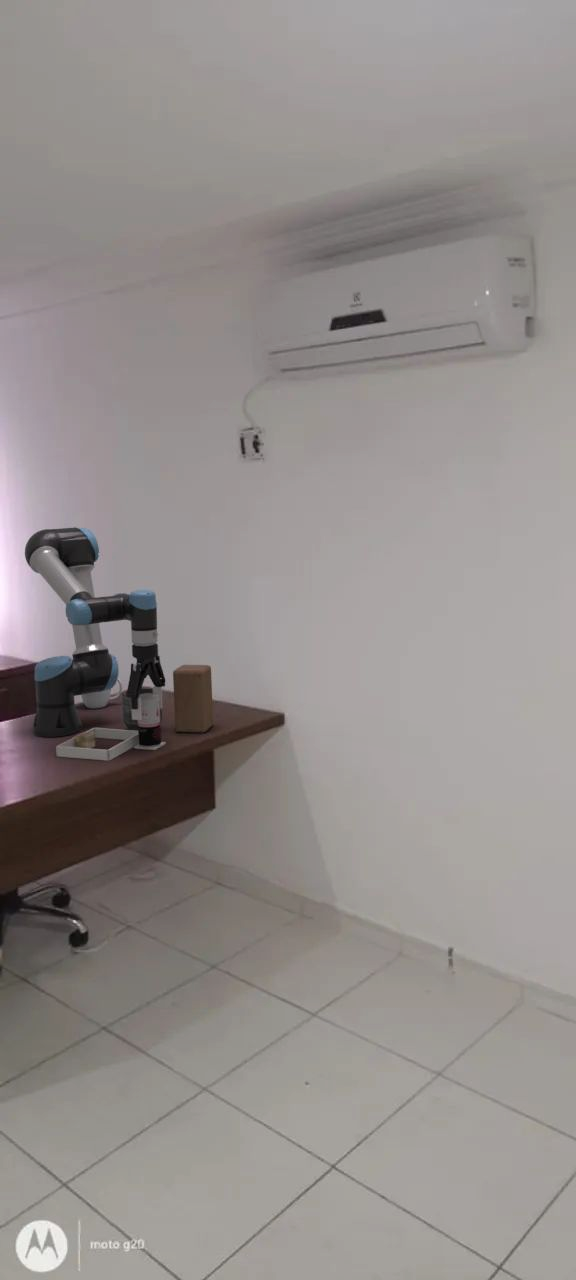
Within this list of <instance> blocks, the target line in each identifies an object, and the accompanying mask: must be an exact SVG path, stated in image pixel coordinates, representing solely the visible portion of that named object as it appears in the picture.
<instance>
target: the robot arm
mask: <svg viewBox="0 0 576 1280" xmlns="http://www.w3.org/2000/svg"><path fill="white" fill-rule="evenodd" d="M99 546H100V545H99V542H98V540H97V538H96V536H95V534H94V533H93V531H91V530H90V529H89V528H86V527H64V528H47V529H41V530H38V531H36V532H35V533H33V534H32V535H31V536H30V537H29V539H28V541H27V542H26V544H25V546H24V547H25V548H24V558H25V560H26V563H27V564H28V566H29V568H30V569H31V570H32V571H33V572H34V573H37V574H40V576H41V577H42V578H43V579H44V580H45V582H46V583H47V584H48V585H49V586H50V587H51V589H52V590H53V591H54V592H55V594H56V595H57V596H58V597H59V598H60V600H61V601H62V602H63V603H64V604H65V616H66V618H67V621H68V622H69V624H71V626H72V632H73V633H72V634H73V637H74V638H73V639H74V645H75V650H74V651H73V653H72V654H71V655H72V657H71V656H70V655H59V656H51V657H47V658H45V659H42V660H40V661H38V662H37V663H36V664H35V666H34V678H33V679H34V684H35V696H36V698H35V699H36V713H35V717H34V721H33V723H32V734H33V735H34V736H37V737H45V738H49V737H51V738H52V737H53V738H54V737H57V738H58V737H65V736H69V735H73V734H77V733H78V732H80V731H82V730H83V729H82V728H83V727H82V721H81V718H80V715H79V712H78V711H77V709H76V708H77V707H76V704H75V697H76V696H81V695H83V694H89V693H95V692H102V691H105V690H109V689H113V688H114V687H115V685H117V682H118V681H117V679H118V678H119V664H118V663H119V662H118V659H117V658H116V656H115V655H114V654H112V653H110V652H109V648H108V647H107V646H105V645H104V644H103V638H102V632H101V626H100V624H102V623H110V622H118V621H130V629H131V630H130V632H131V635H130V636H131V643H132V645H131V655H132V657H133V658H135V659H136V663H130V673H129V681H128V684H127V685H128V686H127V689H126V690H127V695H126V696H127V697H128V698H131V708H132V719H133V720H142V718H141V698H139V695H140V692H141V689H142V688H143V685H144V682H145V679H146V678H147V676H148V677H149V678H150V680H151V682H152V684H153V685H154V686H152V688H153V693H155V694H158V697H159V708H161V709H164V708H163V688H165V687H166V677H165V674H164V670H163V666H162V664H161V659H160V658H161V656H160V655H159V645H158V643H157V642H158V637H159V633H158V614H157V612H158V611H157V609H158V608H157V607H158V603H157V598H156V593H155V592H154V591H153V590H150V589H149V590H147V589H139V590H133V591H131V592H130V594H129V593H126V592H125V593H123V592H122V593H115V594H113V595H109V596H98V597H96V596H95V591H94V590H95V589H94V584H93V578H92V577H93V576H92V571H93V569H94V568H95V563H96V562H97V560H98V559H99V556H100V555H99V553H100V548H99ZM162 687H163V688H162Z"/></svg>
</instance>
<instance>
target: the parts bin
mask: <svg viewBox="0 0 576 1280" xmlns="http://www.w3.org/2000/svg"><path fill="white" fill-rule="evenodd" d="M85 733H94V735H95V739H106V740H107V739H108V740H121V742H119V743H118V744H115V745H114V746H112V747H111V748H109V749H101V748H78V747H76V736H73V737H72V738H70V739H68V740H66V741H63V742H62V743H60V744H58V745H56V746H55V752H56V754H55V756H56V757H59V758H70V759H71V758H72V759H84V760H96V761H111V760H113V759H115V758H117V757H118V756H120V755H122V754H123V753H125V752H128V751H129V750H131V749H132V748H134V747H135V746H136V745H138V744H139V735H138V731H134V730H129V729H120V728H119V729H117V728H104V727H92V728H90V729H88V730H86V731H85ZM122 740H123V741H122Z"/></svg>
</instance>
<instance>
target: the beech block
mask: <svg viewBox="0 0 576 1280" xmlns="http://www.w3.org/2000/svg"><path fill="white" fill-rule="evenodd" d="M85 732H86V731H85ZM85 732H80V733H78V734H76V735H75V737H76V747H78V748H91V749H93V748H94V747H96V738H95V735H94V733H85Z"/></svg>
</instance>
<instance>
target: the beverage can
mask: <svg viewBox="0 0 576 1280" xmlns="http://www.w3.org/2000/svg"><path fill="white" fill-rule="evenodd" d="M139 698H141V718H142V720H138V735H139V745H141V746H142V747H155V746H158V745H159V744H160V743H161V742H162V733H161V730H162V729H161V723H160V708H159V697H158V694H155V693H145V694H140V695H139Z"/></svg>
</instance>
